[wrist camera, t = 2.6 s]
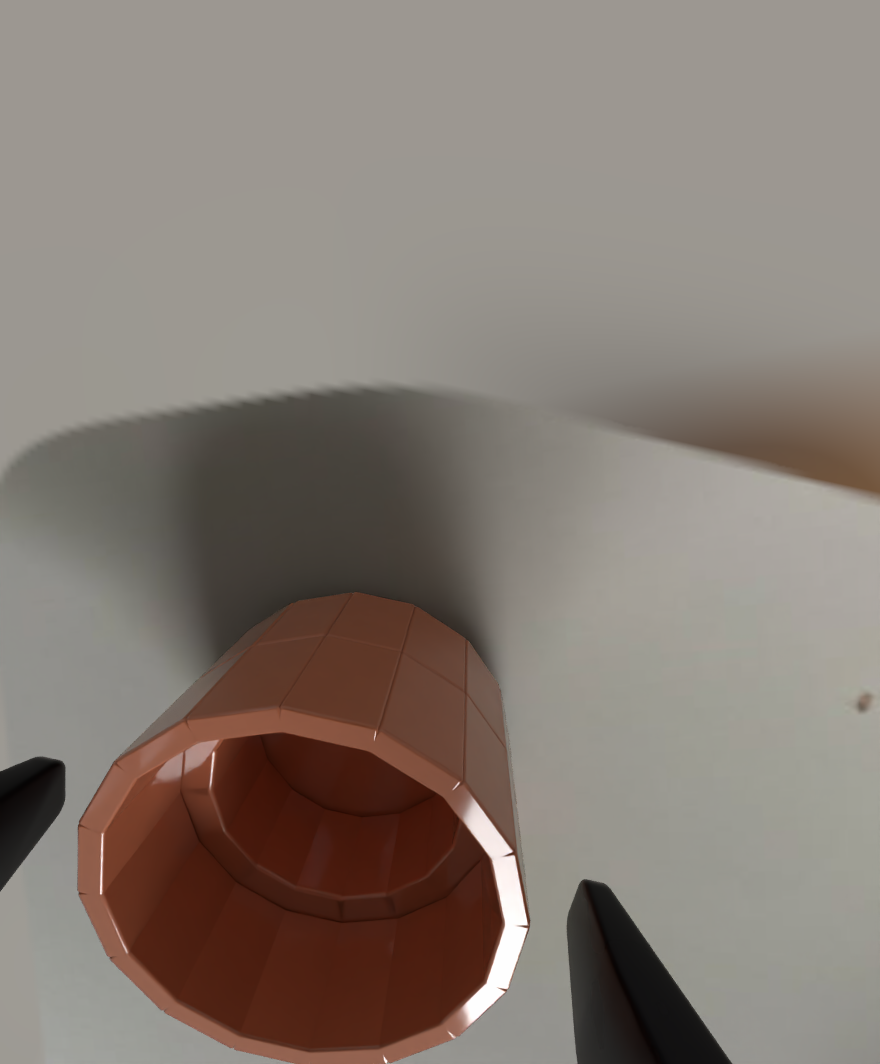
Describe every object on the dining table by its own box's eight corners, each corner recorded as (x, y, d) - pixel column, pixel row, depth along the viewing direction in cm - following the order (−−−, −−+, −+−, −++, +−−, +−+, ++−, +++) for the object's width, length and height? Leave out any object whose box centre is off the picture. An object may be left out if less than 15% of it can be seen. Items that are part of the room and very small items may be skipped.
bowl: (218, 797, 12) (74, 1014, 8) (242, 556, 10) (77, 661, 6) (470, 853, 12) (469, 1105, 8) (536, 620, 10) (583, 773, 6)
